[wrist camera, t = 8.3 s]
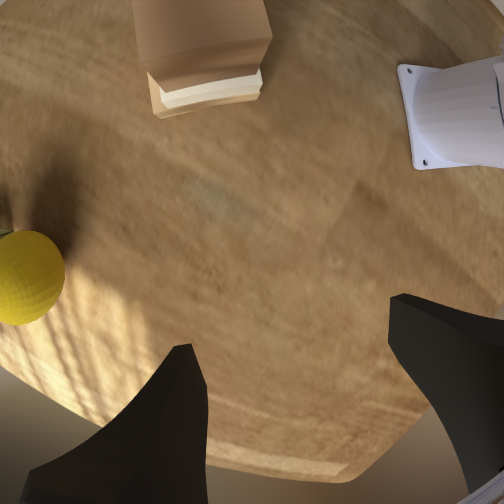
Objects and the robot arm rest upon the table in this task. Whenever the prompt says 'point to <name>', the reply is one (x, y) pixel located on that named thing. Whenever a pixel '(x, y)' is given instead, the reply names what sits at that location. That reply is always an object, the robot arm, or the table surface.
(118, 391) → the table surface
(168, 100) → the cream block
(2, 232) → the medication box
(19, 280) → the lemon
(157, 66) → the walnut block
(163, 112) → the oak base block
